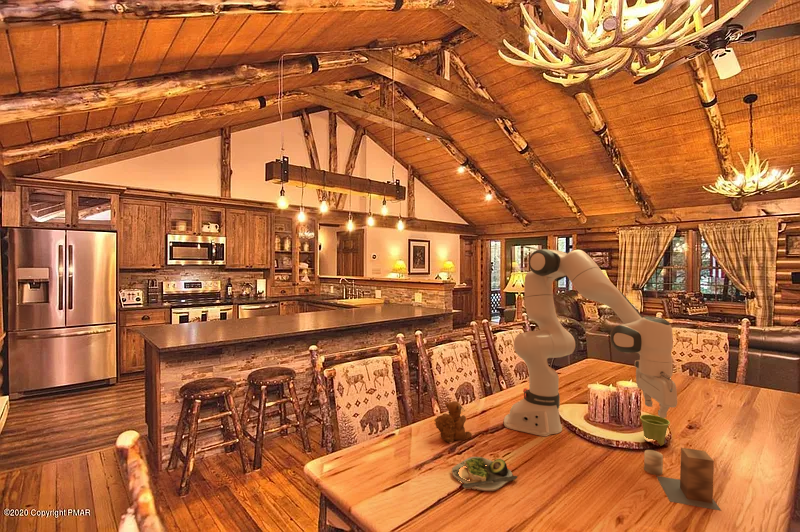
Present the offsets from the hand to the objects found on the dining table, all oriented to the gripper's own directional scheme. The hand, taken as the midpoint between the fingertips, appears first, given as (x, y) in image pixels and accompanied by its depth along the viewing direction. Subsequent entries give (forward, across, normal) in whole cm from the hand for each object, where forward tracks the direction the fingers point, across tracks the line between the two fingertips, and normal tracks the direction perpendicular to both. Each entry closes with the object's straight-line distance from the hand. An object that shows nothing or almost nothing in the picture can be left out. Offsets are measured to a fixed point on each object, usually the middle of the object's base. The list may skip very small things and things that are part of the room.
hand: (655, 411), depth 127 cm
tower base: (+19, -12, -6) cm, 24 cm away
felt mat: (+20, -11, -4) cm, 23 cm away
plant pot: (+20, +23, -10) cm, 32 cm away
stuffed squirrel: (+20, +12, +65) cm, 69 cm away
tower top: (+13, -12, -6) cm, 19 cm away
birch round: (+20, 0, 0) cm, 20 cm away
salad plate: (+20, -12, +54) cm, 59 cm away
